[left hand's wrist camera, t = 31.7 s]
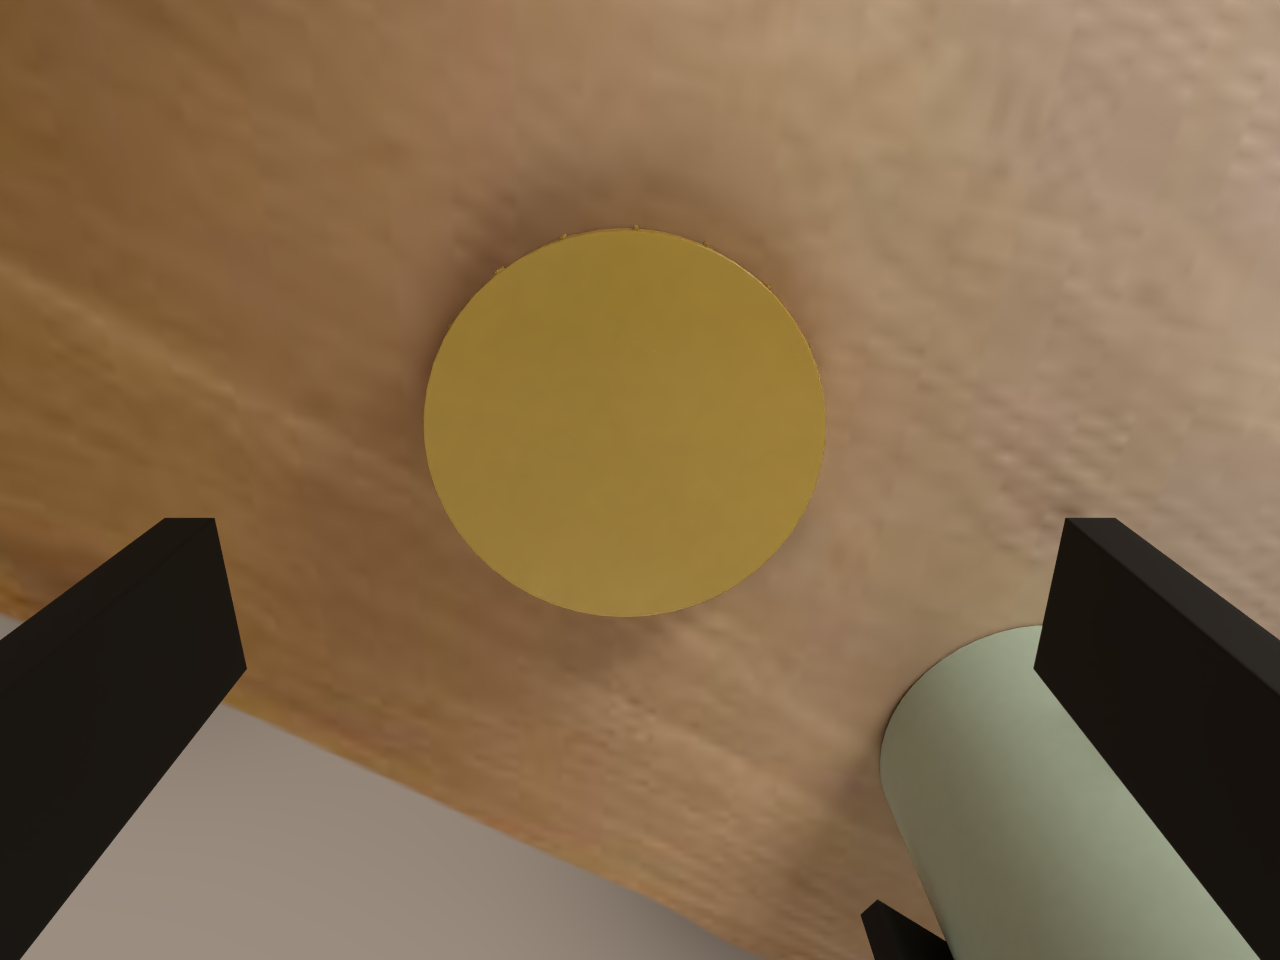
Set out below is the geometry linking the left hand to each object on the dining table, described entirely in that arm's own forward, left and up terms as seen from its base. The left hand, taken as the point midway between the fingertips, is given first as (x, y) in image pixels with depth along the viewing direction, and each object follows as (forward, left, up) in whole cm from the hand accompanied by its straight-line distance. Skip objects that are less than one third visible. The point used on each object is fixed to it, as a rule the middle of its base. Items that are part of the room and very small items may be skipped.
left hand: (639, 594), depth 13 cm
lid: (0, -1, -11) cm, 10 cm away
